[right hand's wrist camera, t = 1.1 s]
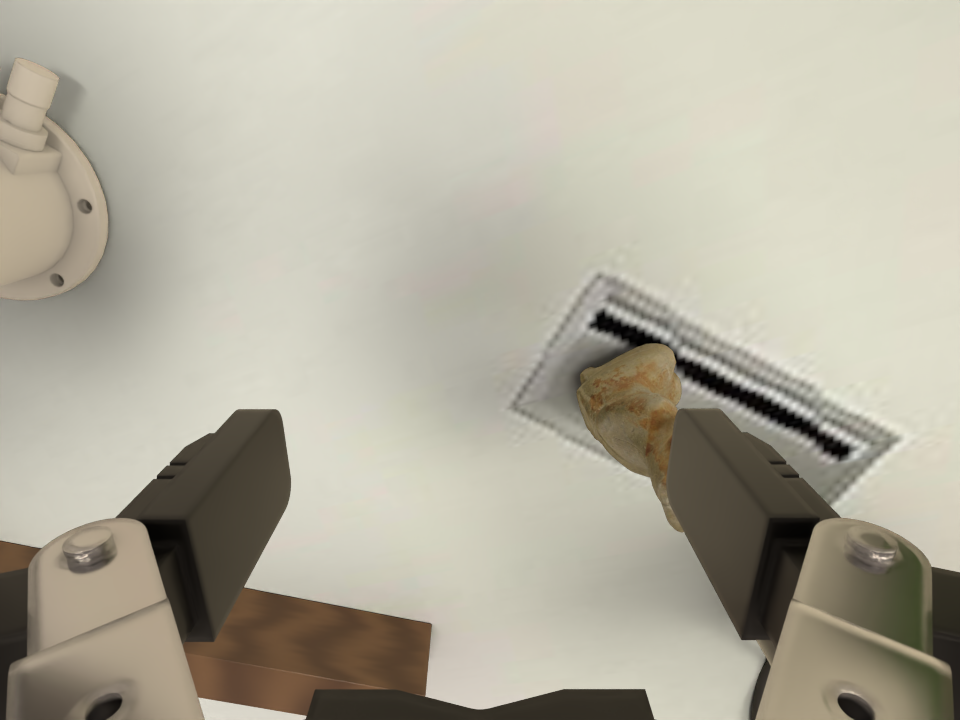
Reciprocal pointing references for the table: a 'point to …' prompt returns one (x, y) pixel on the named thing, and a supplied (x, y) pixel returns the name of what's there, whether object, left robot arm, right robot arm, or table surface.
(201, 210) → the table surface
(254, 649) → the bar
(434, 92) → the table surface
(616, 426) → the sculpture
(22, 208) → the left robot arm
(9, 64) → the table surface
